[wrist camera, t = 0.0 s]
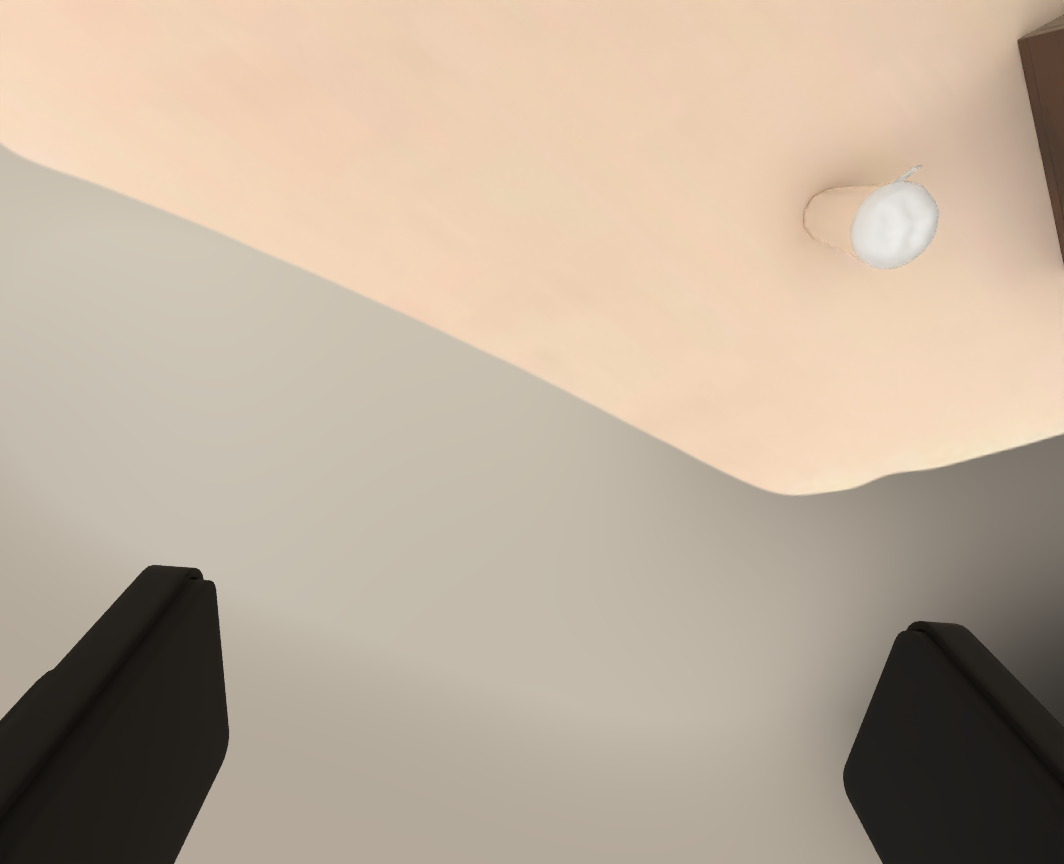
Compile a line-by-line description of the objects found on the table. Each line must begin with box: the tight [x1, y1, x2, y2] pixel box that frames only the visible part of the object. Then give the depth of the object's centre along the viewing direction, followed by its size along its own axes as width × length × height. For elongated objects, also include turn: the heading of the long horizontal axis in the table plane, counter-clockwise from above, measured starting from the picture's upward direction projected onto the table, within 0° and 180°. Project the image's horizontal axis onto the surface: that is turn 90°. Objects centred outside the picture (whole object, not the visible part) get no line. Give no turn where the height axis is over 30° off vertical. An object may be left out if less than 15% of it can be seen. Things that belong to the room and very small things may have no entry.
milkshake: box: [804, 165, 938, 269], centre depth 38 cm, size 4×5×10 cm
